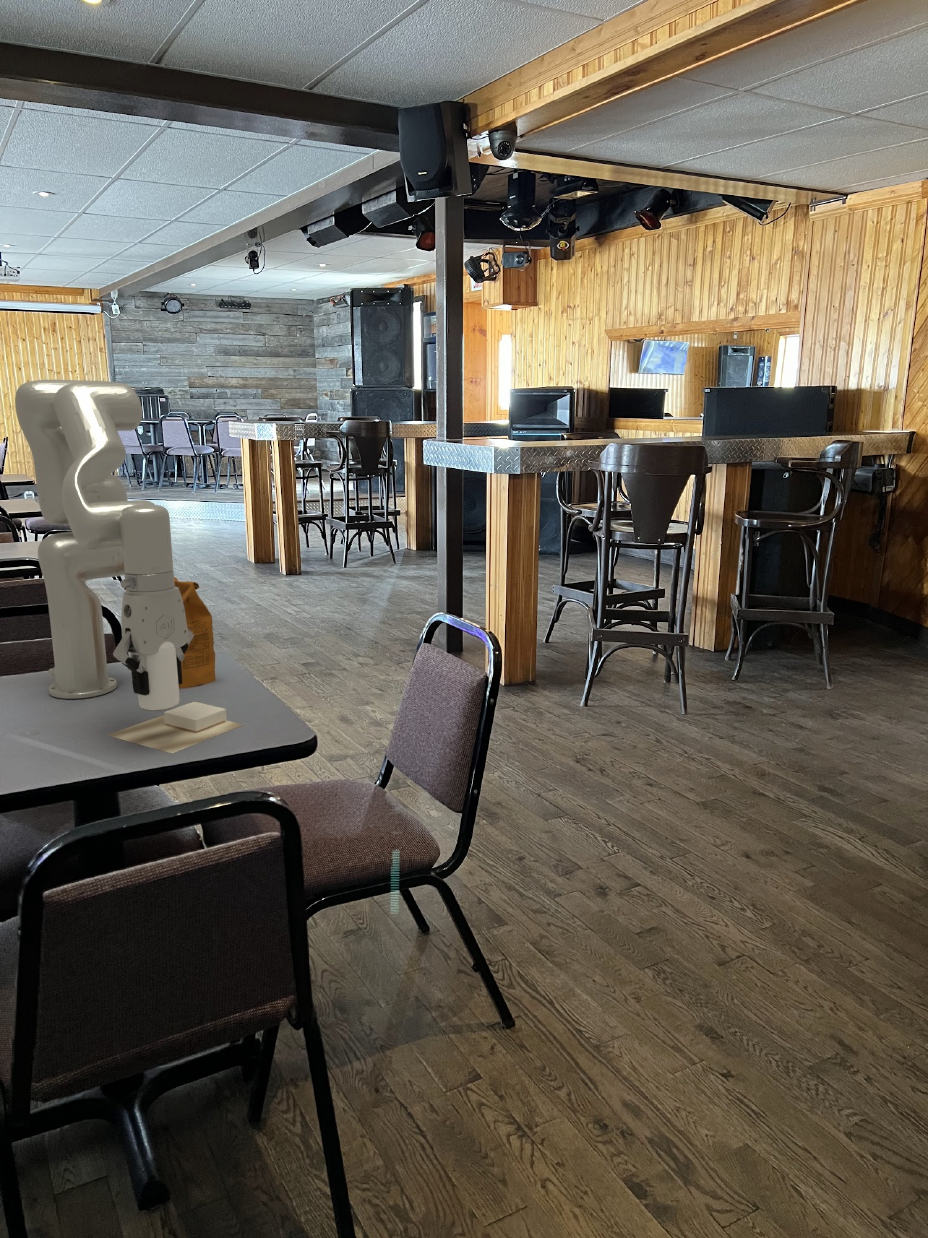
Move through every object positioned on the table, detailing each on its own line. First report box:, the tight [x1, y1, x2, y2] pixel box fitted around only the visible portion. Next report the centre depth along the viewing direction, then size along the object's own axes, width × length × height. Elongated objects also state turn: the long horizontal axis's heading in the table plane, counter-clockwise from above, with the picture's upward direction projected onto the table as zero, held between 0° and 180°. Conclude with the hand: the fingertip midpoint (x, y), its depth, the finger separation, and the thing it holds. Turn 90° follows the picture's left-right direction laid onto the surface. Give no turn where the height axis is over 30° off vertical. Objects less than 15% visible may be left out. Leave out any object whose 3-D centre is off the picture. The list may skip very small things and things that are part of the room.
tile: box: [163, 701, 228, 732], centre depth 162 cm, size 2×7×8 cm
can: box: [136, 637, 180, 712], centre depth 152 cm, size 6×6×12 cm
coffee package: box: [174, 576, 216, 690], centre depth 186 cm, size 10×12×22 cm
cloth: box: [107, 714, 244, 755], centre depth 159 cm, size 16×16×1 cm
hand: (158, 687), depth 153 cm, fingers closed on can, 6 cm apart
